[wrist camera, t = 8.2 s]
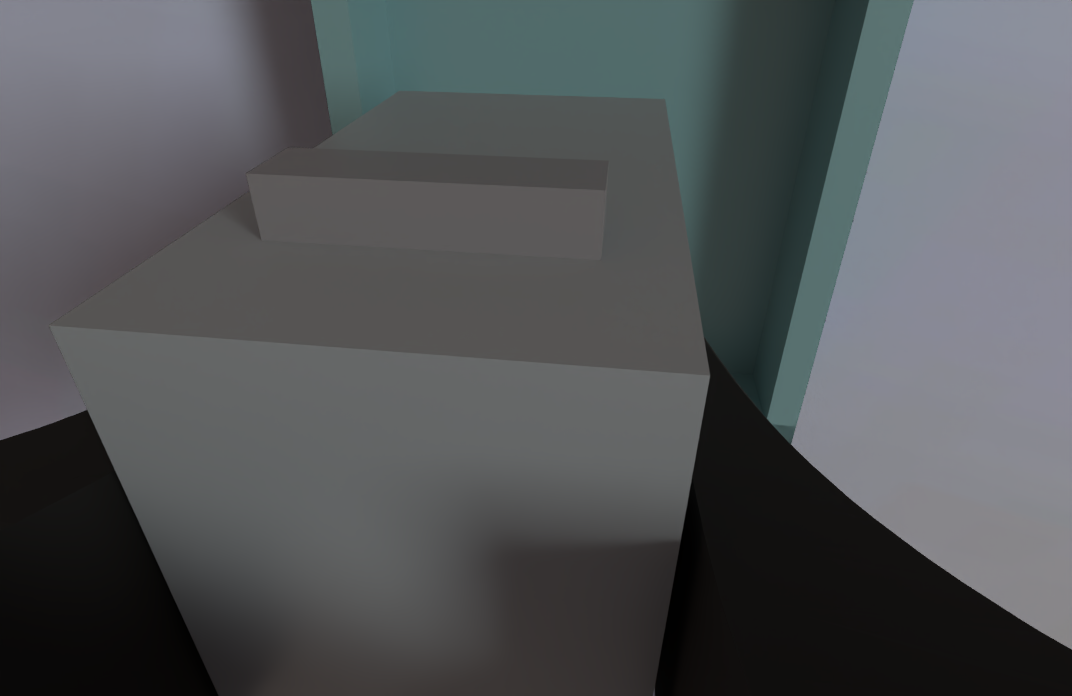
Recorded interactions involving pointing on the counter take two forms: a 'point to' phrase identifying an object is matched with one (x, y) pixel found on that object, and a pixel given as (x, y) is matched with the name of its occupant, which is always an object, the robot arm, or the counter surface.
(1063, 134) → the counter surface
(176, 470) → the grey box
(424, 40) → the tray
